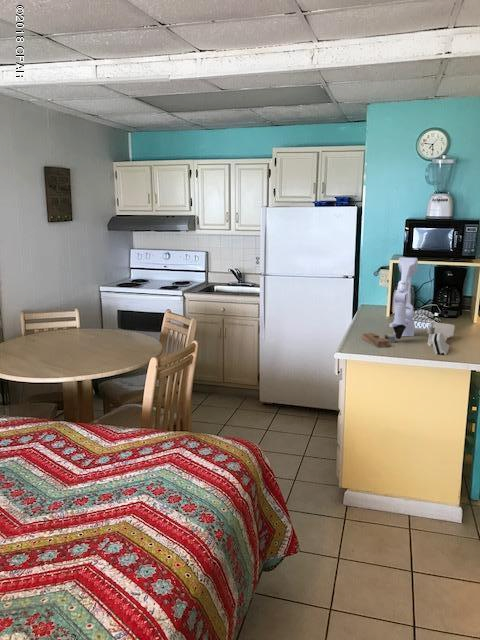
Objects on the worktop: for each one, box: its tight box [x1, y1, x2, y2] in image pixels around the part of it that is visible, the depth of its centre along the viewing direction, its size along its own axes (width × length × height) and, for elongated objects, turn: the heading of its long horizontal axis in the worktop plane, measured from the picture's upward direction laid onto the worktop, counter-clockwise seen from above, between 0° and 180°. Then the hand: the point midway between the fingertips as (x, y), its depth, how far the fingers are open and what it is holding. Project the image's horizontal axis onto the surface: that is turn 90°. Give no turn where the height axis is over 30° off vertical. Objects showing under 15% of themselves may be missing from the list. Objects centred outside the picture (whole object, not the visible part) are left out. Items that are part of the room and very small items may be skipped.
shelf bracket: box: [427, 321, 456, 347], centre depth 288 cm, size 6×25×13 cm, turn 134°
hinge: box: [431, 333, 450, 356], centre depth 269 cm, size 17×5×10 cm, turn 153°
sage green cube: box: [384, 333, 396, 344], centre depth 287 cm, size 4×4×4 cm
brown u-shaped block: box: [361, 332, 391, 348], centre depth 285 cm, size 7×18×3 cm, turn 14°
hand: (398, 338), depth 288 cm, fingers closed
